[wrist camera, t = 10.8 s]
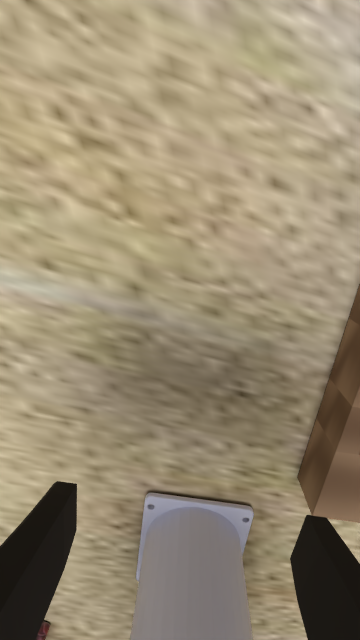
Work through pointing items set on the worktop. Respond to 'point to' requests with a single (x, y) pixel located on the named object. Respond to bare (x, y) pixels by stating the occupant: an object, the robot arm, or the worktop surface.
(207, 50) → the worktop surface
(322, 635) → the robot arm
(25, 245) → the worktop surface
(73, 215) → the worktop surface
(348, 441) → the brown wooden peg board
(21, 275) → the worktop surface
